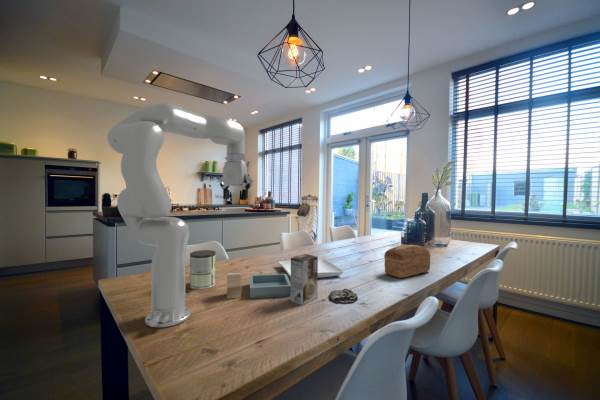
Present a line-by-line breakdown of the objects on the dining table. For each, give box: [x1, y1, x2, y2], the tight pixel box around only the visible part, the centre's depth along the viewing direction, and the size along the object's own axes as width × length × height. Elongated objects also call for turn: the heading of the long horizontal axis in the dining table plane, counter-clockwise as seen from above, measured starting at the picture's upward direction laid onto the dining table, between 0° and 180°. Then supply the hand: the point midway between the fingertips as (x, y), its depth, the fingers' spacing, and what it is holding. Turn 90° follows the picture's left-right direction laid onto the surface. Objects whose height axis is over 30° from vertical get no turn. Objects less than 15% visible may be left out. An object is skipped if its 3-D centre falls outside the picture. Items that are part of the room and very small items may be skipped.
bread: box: [383, 244, 431, 279], centre depth 134 cm, size 12×28×14 cm, turn 123°
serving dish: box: [249, 273, 291, 299], centre depth 107 cm, size 16×16×4 cm
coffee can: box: [189, 249, 216, 290], centre depth 111 cm, size 10×10×14 cm
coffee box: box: [289, 253, 319, 306], centre depth 97 cm, size 9×6×16 cm
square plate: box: [277, 258, 345, 279], centre depth 134 cm, size 27×27×4 cm
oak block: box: [226, 270, 242, 299], centre depth 100 cm, size 5×5×9 cm
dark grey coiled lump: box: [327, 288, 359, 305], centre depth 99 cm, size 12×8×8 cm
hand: (235, 199), depth 111 cm, fingers open, 9 cm apart
